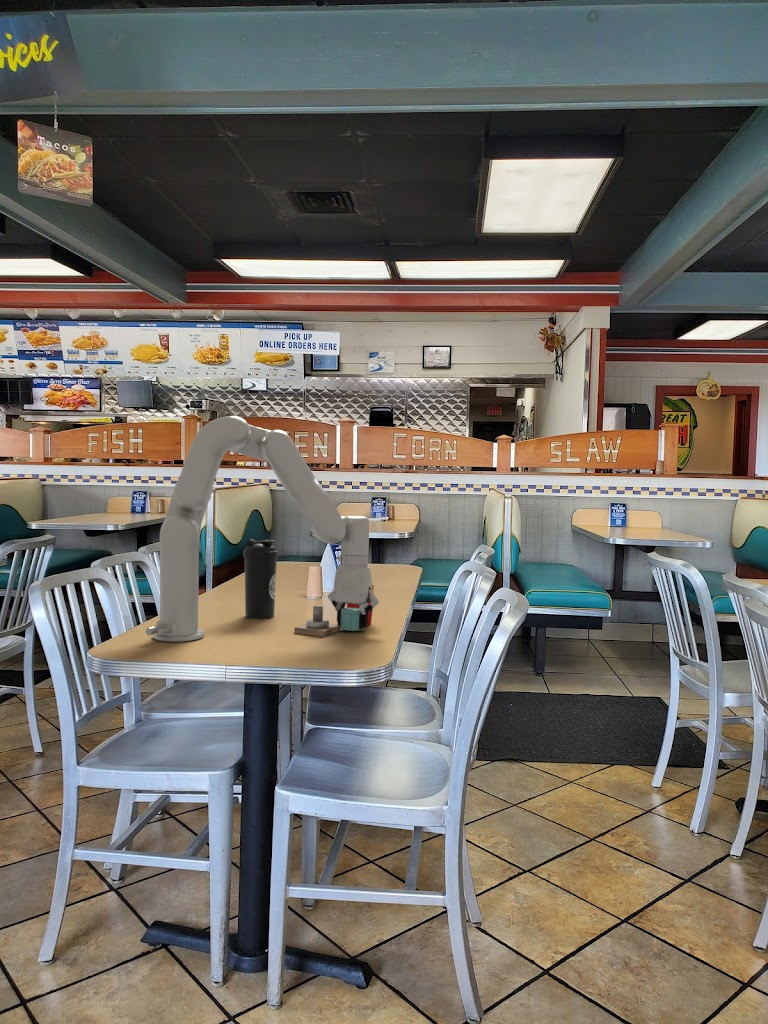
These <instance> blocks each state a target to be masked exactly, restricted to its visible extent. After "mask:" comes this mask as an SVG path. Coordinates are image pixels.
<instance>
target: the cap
mask: <svg viewBox="0 0 768 1024" xmlns="http://www.w3.org/2000/svg"><path fill="white" fill-rule="evenodd" d="M360 614H361V610H360V608H347V607H344V608H342V609H341V622H340V626H341V627H340V630H343V631H350V632H351V631H352V632H353V631H354V632H355V631H357V632H358V631H361V630H364V629H365V628H363V629H360V628H359V615H360Z"/></svg>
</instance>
